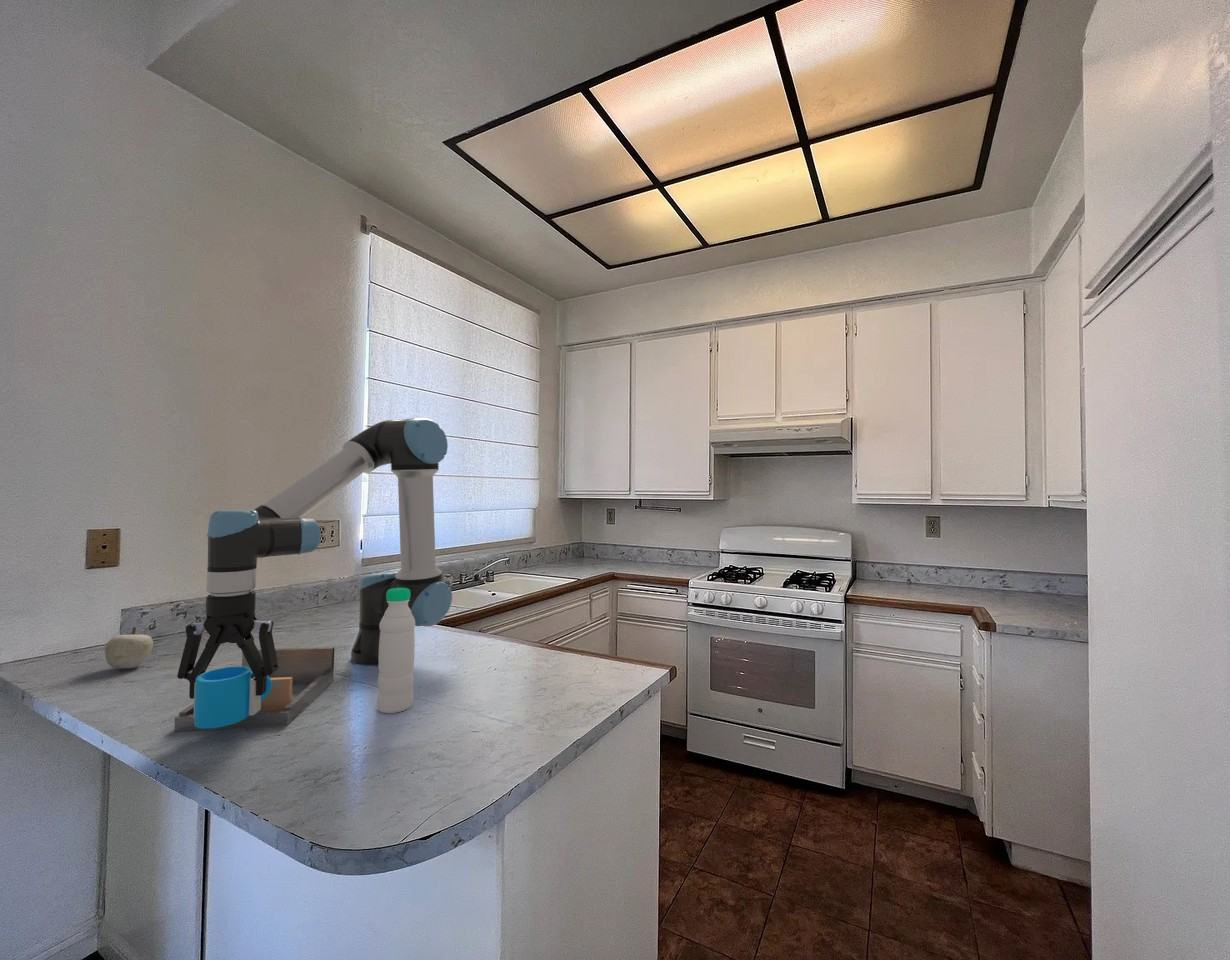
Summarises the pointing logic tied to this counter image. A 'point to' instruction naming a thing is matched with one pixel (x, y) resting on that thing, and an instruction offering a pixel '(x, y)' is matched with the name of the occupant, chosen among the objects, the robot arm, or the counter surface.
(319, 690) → the lane
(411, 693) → the water bottle
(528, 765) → the counter surface
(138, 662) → the decorative object
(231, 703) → the mug
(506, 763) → the counter surface
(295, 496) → the robot arm
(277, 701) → the pusher
